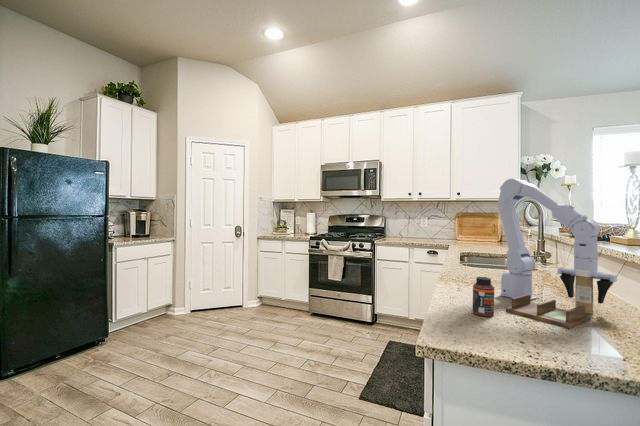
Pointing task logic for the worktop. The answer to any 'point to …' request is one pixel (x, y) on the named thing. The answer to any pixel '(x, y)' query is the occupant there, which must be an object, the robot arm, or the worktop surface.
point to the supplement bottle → (483, 297)
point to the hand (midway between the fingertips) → (585, 299)
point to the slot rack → (548, 312)
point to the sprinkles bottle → (584, 290)
